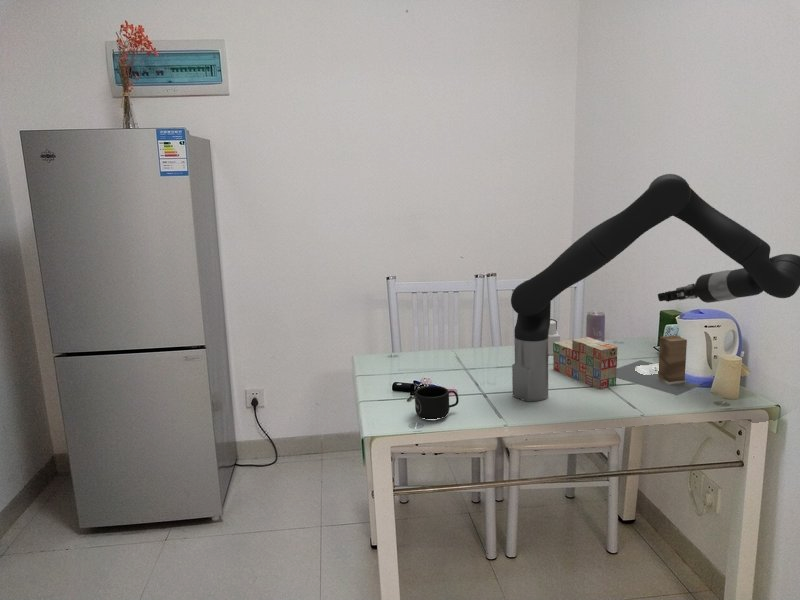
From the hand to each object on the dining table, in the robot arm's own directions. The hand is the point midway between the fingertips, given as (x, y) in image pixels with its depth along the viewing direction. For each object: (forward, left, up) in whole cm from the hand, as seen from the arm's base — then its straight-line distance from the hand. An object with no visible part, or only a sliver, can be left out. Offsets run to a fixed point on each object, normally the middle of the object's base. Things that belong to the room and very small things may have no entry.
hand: (670, 294), depth 153 cm
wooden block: (+1, -1, -26) cm, 26 cm away
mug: (-66, +24, -27) cm, 75 cm away
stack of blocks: (-14, +19, -27) cm, 35 cm away
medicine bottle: (-2, +43, -27) cm, 51 cm away
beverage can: (+7, +30, -27) cm, 41 cm away
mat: (+2, +4, -26) cm, 27 cm away
